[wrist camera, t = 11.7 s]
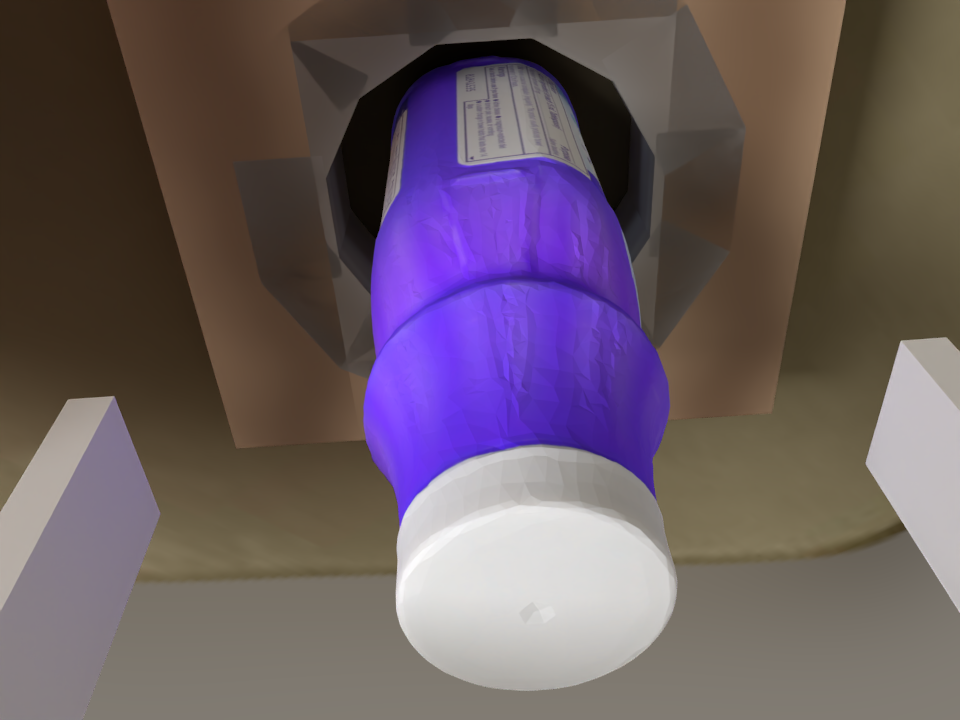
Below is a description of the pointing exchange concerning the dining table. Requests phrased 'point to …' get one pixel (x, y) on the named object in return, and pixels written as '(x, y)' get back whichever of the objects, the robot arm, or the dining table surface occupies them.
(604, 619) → the bottle
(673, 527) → the dining table surface
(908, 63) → the dining table surface
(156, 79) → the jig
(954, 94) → the dining table surface
